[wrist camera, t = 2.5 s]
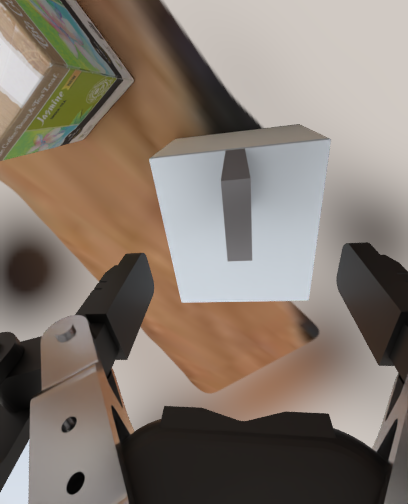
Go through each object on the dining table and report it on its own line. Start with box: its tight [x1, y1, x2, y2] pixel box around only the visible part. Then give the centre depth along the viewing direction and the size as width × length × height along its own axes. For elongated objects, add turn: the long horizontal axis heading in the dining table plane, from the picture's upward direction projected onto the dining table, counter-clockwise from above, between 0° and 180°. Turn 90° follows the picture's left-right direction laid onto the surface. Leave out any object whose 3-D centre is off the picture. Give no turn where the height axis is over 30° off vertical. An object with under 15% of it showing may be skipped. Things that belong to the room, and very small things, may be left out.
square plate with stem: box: [149, 138, 331, 302], centre depth 20 cm, size 16×14×9 cm
